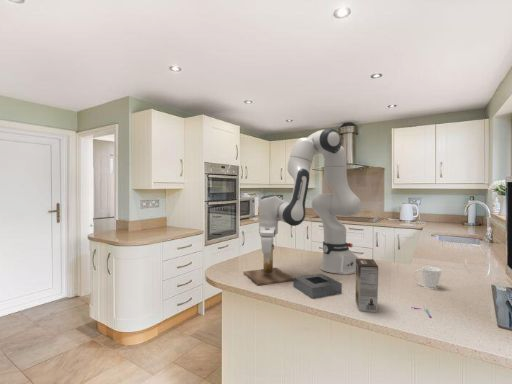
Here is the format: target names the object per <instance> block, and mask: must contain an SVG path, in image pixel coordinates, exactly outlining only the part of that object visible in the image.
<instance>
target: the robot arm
mask: <svg viewBox="0 0 512 384" xmlns="http://www.w3.org/2000/svg"><path fill="white" fill-rule="evenodd" d="M340 134H341V133H339V132H338V130H337V129H336V128H335V129H334V128H324V129H320V130H317V131H315V132H312V133H310V134H308V135H307V136H306V137H301V138H297V140H296V141H295V142H294V145H293V147H292V149H291V151H290V156H289V158H288V162H287V168H286V169H287V173H288V174H289V176H290V177H291V178H292V179H293V183H294V185H293V190H292V194H291V199H290V201H286V200H284V199H282V198H280V197H278V196H277V195H276V194H269V195H264V196H262V197H261V198H260V200H259V204H258V205H259V206H258V207H259V209H258V215H259V223H258V234H259V236H260V240H261V241H260V242H261V243H260V244H261V251H262V254H263V255H264V254H265V257H266V261H269V260H270V253H271V250H272V244H274V238H275V237H276V235H277V234H278V232H279V231H278V230H279V228H278V227H279V222H283V223H285V224H287V225H289V226H292V227H293V226H294V227H297V226H299V225H301V224H302V223H303V222H304V221H305V217H306V199H307V195H308V190H309V189H308V188H309V184H310V173H311V167H312V164H313V160H314V157H315V155H317V154H322V155H323V159H324V162H323V163H324V164H323V165H324V166H323V169H324V170H323V171H324V173H323V177H324V183H325V184H326V185H327V186H328V187H331V188H332V190H333V193H321V194H315V195H314V197H313V198H312V200H311V208H312V210H313V211H314V213H316V215H318V216H319V218H320V220H321V223H322V227H323V242H322V250H323V251H322V252H323V253H322V259H321V265H320V268H319V269H320V270H322V271H323V272H327V273H331V274H340V275H344V276H345V275H350V274H354V273H355V274H356V259H359V257H358V256H357V255H356V254H355V253H354V252H352V251H351V250H350V249H349V248H353V246H354V245H353V243H350V242H347V228H346V226H345V225H344V224H343V223H342V222H340V221H339V219H338V218H337V216H340V217H351V216H356V215H358V214H359V213H360V211H361V209H362V202H361V199H360V198H359V197H358V196H357V195H356V194H355V193H354V192H353V190H352V189H351V188H350V186H349V182H348V175H347V173H348V172H347V170H348V169H347V167H348V165H347V154H346V149H345V148H344V146H342V138H341V135H340Z"/></svg>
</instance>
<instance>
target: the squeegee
mask: <svg viewBox="0 0 512 384" xmlns="http://www.w3.org/2000/svg"><path fill="white" fill-rule="evenodd" d="M411 308H414V309H413V310H417V309H421V308H418V307H412V306H411V307H410V309H411ZM426 311H427V312H426ZM426 311H425V312H426V314H427V313H428V314H427V315H428V318H430V319H433V318H432V315H431V313H430V312H429V311H428V308H427V309H426Z"/></svg>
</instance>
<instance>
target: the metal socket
mask: <svg viewBox="0 0 512 384" xmlns="http://www.w3.org/2000/svg"><path fill="white" fill-rule="evenodd" d="M293 278H294V281H293V288H296V289H297V290H298V291H300V292H301V293H303V294H305V295H306V296H308V297H309V298H311V299H319V298H322V297H328V296H335V295H339V294H342V292H343V290H342V289H343V285H342V284H343V283H342V282H340V281H339V280H336V279H334V278H332V277H329V276H328V275H325V274H323V273H322V272H321V273H320V272H319V273H311V274H307V275H300V276H299V275H298V276H293Z"/></svg>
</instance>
